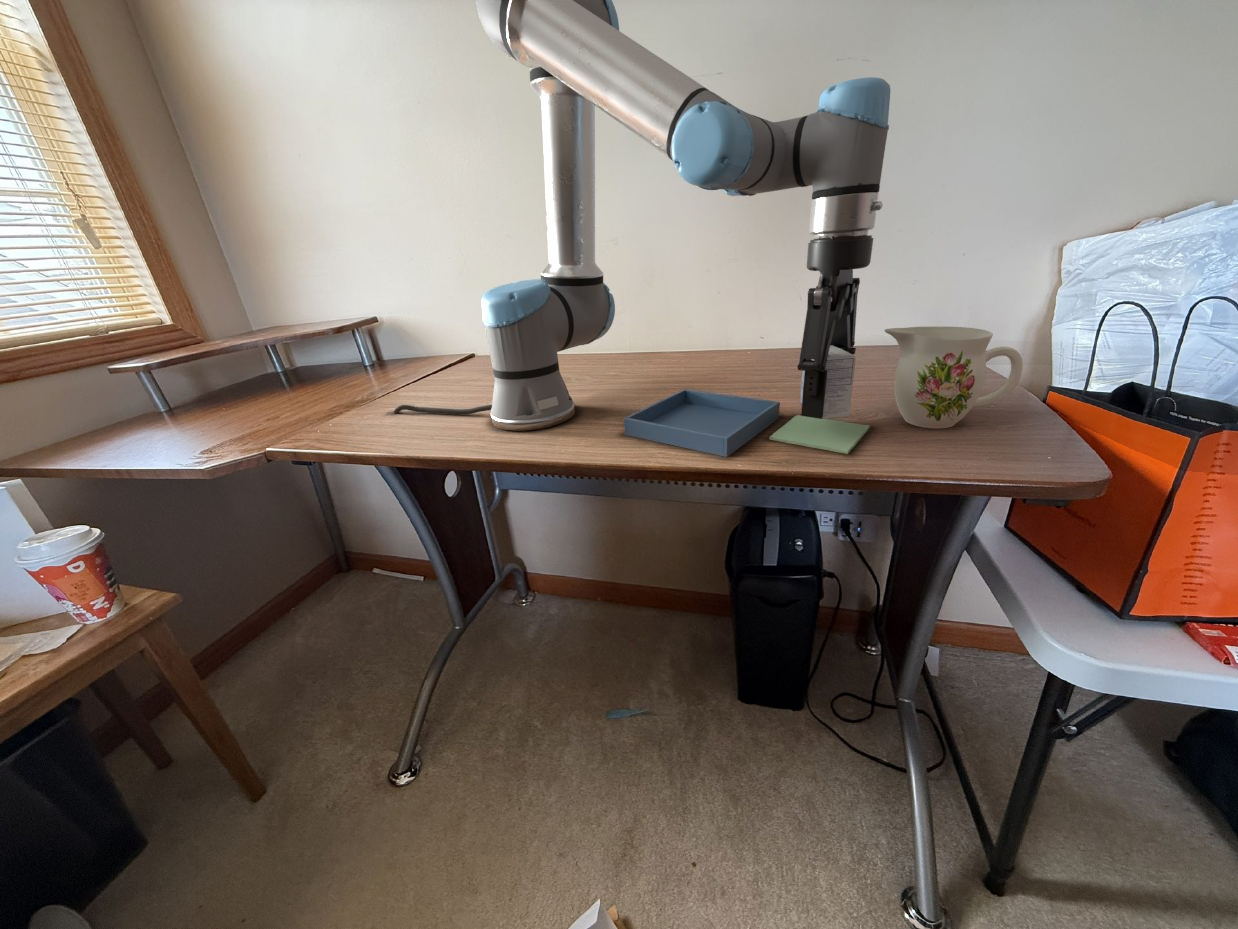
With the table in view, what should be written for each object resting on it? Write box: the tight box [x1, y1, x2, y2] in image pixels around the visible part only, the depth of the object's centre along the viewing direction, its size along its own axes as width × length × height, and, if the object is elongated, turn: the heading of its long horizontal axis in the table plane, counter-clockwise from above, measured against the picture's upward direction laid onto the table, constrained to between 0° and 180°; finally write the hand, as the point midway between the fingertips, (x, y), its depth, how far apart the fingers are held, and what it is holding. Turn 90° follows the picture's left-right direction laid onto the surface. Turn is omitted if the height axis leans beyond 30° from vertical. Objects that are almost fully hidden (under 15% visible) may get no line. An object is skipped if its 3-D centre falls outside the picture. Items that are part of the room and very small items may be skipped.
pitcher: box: [884, 326, 1024, 429], centre depth 69 cm, size 11×18×14 cm, turn 74°
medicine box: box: [799, 345, 856, 420], centre depth 68 cm, size 8×4×9 cm, turn 179°
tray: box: [623, 388, 781, 458], centre depth 77 cm, size 18×18×3 cm
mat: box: [768, 414, 871, 455], centre depth 71 cm, size 11×11×1 cm
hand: (823, 406), depth 69 cm, fingers closed on medicine box, 9 cm apart
